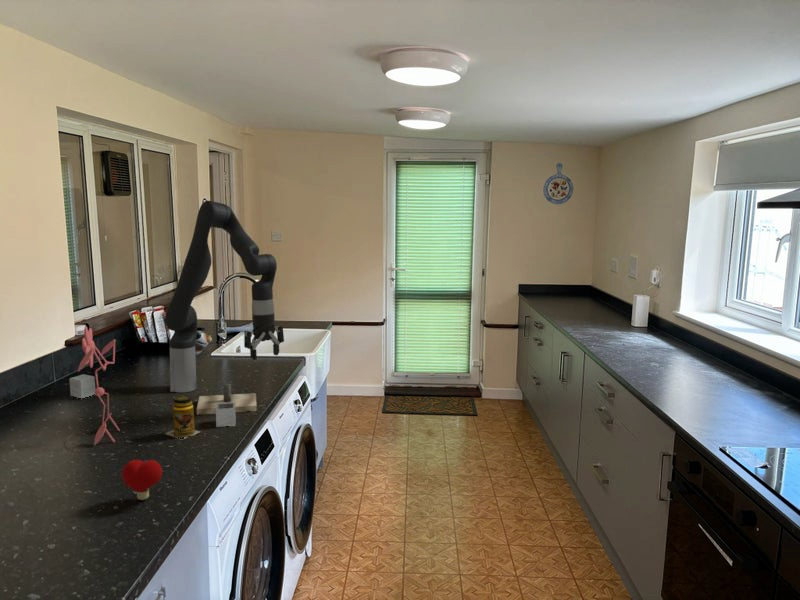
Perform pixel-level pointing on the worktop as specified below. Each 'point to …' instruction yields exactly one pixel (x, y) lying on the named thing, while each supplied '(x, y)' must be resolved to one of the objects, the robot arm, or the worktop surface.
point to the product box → (82, 386)
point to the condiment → (183, 417)
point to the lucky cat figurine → (201, 341)
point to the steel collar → (225, 414)
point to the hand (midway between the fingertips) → (265, 357)
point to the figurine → (89, 350)
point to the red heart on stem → (141, 476)
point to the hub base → (236, 398)
